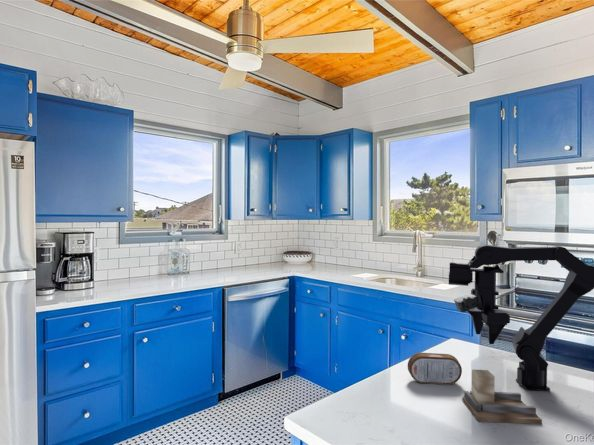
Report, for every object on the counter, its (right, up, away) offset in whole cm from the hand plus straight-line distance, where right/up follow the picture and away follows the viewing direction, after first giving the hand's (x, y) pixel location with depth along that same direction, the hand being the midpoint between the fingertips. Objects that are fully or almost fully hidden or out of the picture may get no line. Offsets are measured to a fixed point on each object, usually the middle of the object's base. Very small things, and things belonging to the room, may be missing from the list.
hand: (484, 338), depth 115 cm
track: (-5, -12, -19) cm, 23 cm away
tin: (-16, -12, -3) cm, 20 cm away
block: (-9, -11, -18) cm, 23 cm away
